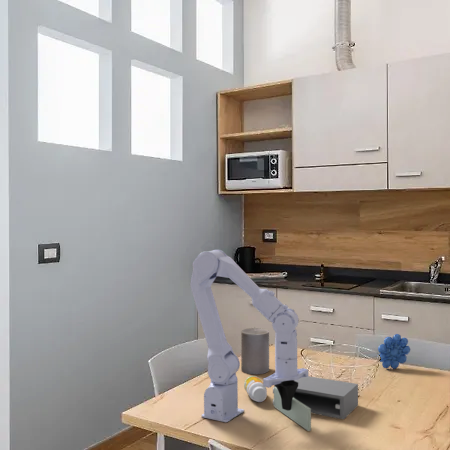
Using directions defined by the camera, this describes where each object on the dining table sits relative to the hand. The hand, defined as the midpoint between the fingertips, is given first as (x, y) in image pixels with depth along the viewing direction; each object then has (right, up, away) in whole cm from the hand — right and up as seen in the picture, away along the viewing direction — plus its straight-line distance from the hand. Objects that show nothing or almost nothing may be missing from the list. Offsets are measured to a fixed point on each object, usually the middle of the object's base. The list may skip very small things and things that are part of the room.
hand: (286, 409), depth 139 cm
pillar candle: (-6, -3, +46) cm, 46 cm away
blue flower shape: (+42, -2, +47) cm, 63 cm away
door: (+1, -3, +1) cm, 3 cm away
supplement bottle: (-8, 0, +22) cm, 23 cm away
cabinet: (+9, -3, +11) cm, 15 cm away
